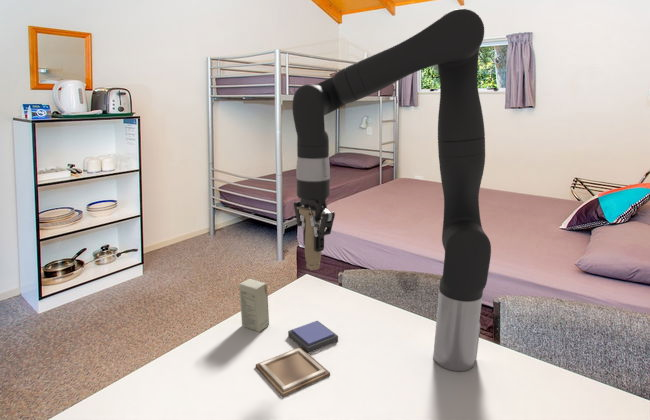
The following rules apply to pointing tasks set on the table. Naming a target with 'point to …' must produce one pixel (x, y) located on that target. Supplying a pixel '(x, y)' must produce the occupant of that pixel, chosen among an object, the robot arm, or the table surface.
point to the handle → (310, 241)
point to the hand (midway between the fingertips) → (313, 247)
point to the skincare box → (254, 304)
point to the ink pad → (312, 336)
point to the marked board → (292, 371)
